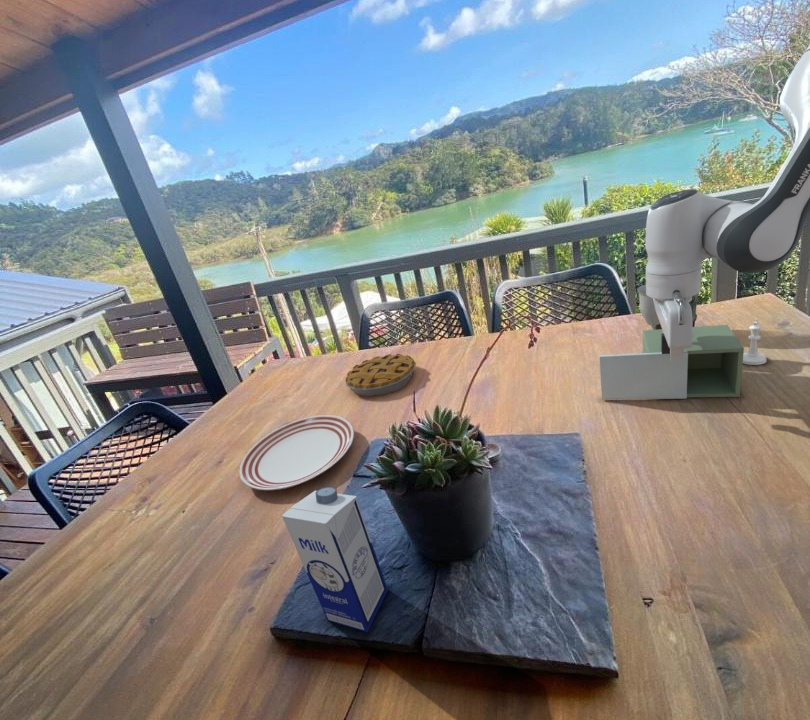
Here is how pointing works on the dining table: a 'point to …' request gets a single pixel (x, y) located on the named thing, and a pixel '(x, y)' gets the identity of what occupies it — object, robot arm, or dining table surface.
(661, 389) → the sliding door
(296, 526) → the milk carton
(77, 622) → the dining table surface
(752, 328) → the chess piece
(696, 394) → the cabinet
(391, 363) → the pie
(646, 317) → the chalice
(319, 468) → the dinner plate
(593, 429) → the dining table surface
